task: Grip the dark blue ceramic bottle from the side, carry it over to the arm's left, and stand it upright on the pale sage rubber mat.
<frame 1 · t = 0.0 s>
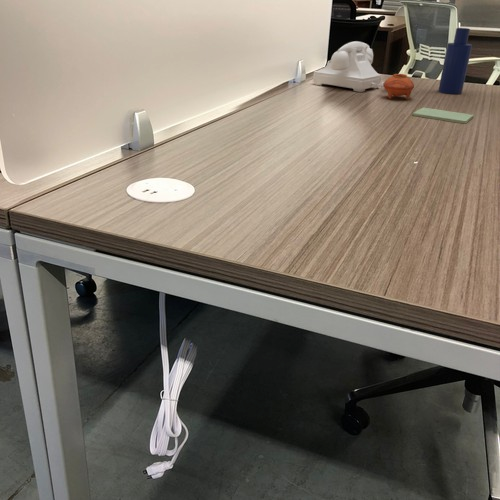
bottle: (449, 92, 147), on the table
mat: (442, 116, 118), on the table
pot: (396, 98, 136), on the table
telephone: (356, 86, 151), on the table
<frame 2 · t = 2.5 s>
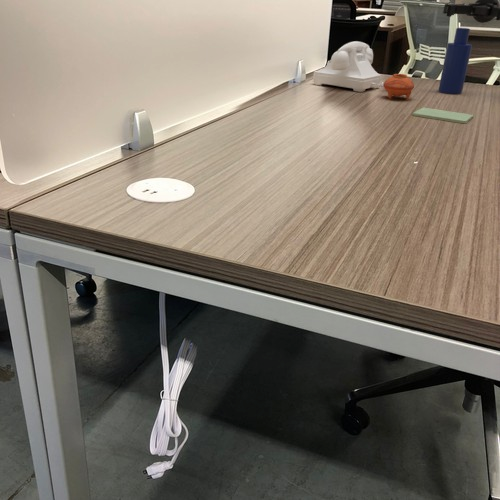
hand: (473, 12, 143), 21 cm above the table, tool horizontal, fingers open, 13 cm apart
nothing on the table moved.
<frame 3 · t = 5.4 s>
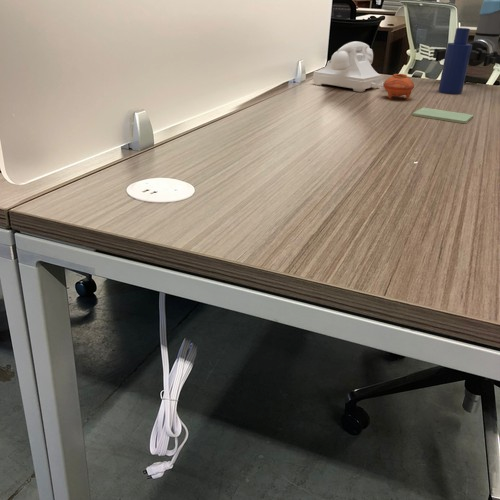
hand: (460, 58, 146), 9 cm above the table, tool horizontal, fingers open, 13 cm apart
nothing on the table moved.
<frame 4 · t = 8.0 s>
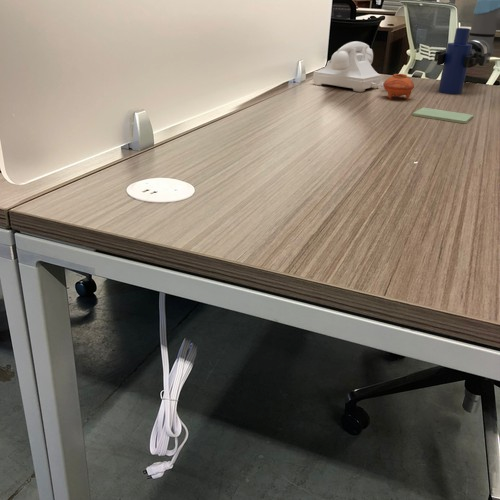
hand: (452, 61, 139), 9 cm above the table, tool horizontal, fingers closed on bottle, 6 cm apart
bottle: (449, 92, 147), on the table, touching gripper
everything else where it was.
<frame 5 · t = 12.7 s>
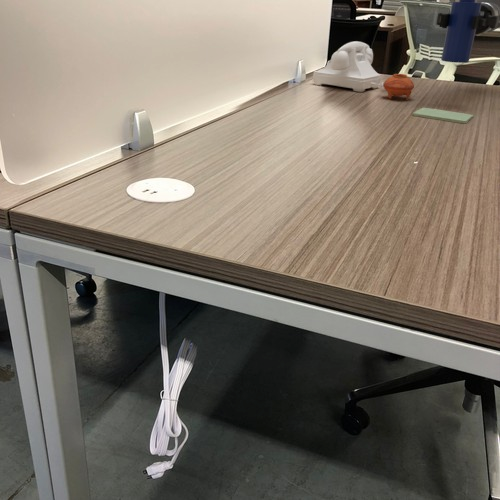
hand: (457, 21, 117), 20 cm above the table, tool horizontal, fingers closed on bottle, 6 cm apart
bottle: (454, 60, 124), point 11 cm above the table, touching gripper
everything else where it was.
when the fingers open (10 cm above the table, at t = 17.6 s): bottle stays where it is, resting on mat.
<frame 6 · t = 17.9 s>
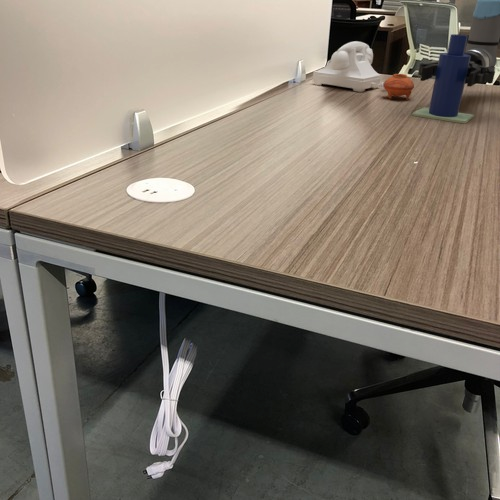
hand: (446, 77, 110), 9 cm above the table, tool horizontal, fingers open, 9 cm apart
bottle: (443, 113, 118), point 1 cm above the table, touching mat
everything else where it was.
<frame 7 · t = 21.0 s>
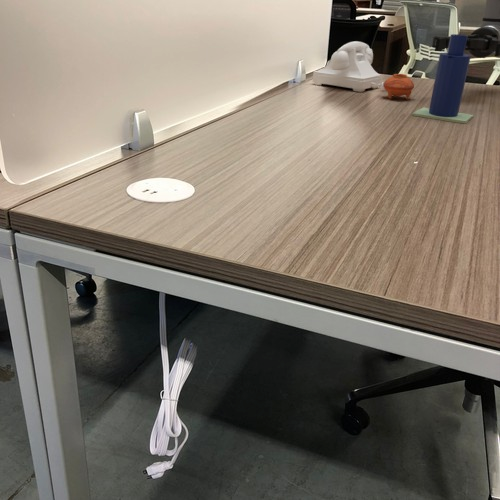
hand: (466, 47, 118), 14 cm above the table, tool horizontal, fingers open, 13 cm apart
nothing on the table moved.
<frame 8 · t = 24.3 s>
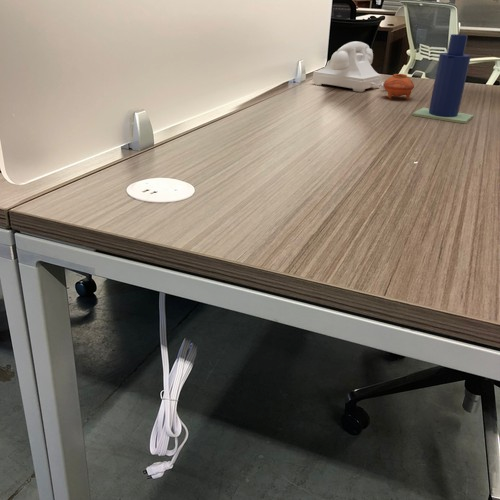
nothing on the table moved.
at the end: bottle inside the target area on the mat (0.1 cm from its centre), point 0.6 cm above the mat's base; bottle tilted 0°; the gripper is holding nothing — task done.
